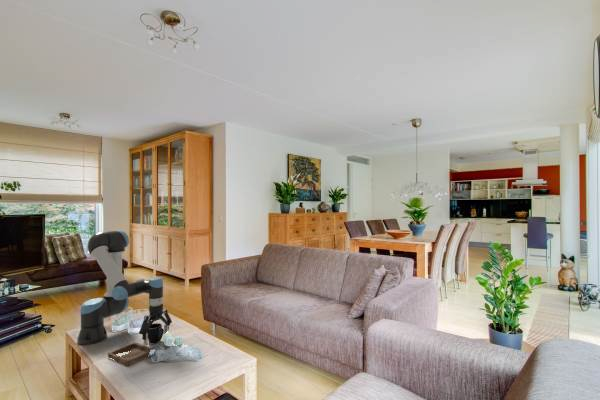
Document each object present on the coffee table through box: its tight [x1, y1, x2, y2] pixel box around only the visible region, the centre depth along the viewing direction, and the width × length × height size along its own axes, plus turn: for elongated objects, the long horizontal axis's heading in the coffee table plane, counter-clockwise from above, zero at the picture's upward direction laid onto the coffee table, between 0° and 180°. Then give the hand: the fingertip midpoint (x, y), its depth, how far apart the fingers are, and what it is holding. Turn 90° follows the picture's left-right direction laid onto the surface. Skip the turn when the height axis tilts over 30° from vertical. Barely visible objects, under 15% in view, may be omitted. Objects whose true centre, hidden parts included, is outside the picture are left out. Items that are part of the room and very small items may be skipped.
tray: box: [107, 341, 153, 367], centre depth 169 cm, size 18×15×2 cm
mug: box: [147, 322, 164, 344], centre depth 185 cm, size 8×12×10 cm
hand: (156, 340), depth 185 cm, fingers open, 13 cm apart
